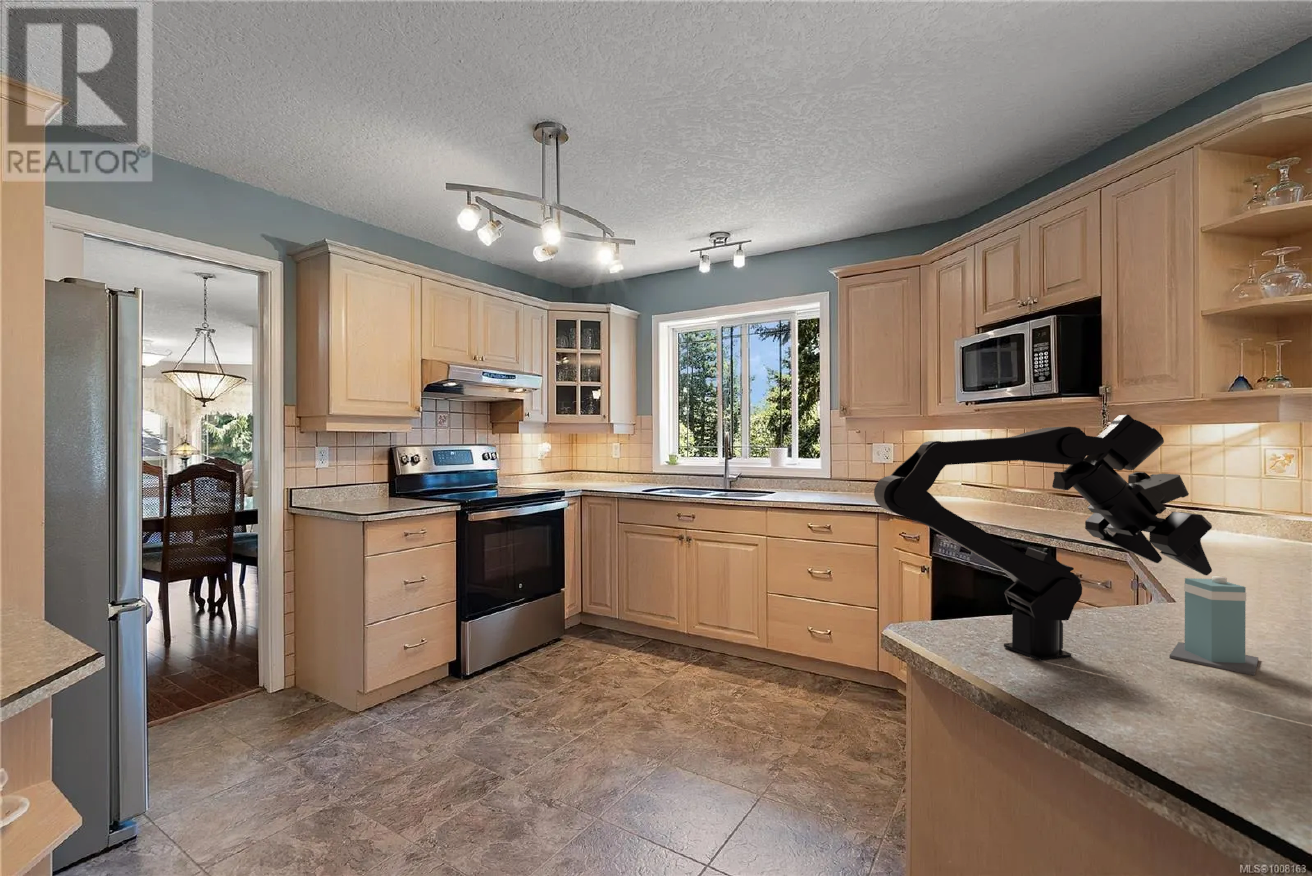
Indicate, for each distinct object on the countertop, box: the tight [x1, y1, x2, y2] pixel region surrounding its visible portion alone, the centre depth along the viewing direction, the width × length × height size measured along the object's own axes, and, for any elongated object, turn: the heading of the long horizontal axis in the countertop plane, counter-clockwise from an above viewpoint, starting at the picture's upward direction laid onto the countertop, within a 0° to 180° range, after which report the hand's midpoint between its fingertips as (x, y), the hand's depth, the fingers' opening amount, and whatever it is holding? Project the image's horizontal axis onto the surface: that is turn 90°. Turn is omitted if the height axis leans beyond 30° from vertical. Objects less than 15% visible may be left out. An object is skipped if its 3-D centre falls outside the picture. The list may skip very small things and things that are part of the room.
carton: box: [1183, 575, 1247, 663], centre depth 89 cm, size 5×5×12 cm
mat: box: [1169, 641, 1259, 676], centre depth 89 cm, size 9×9×1 cm
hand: (1182, 566), depth 90 cm, fingers open, 9 cm apart
